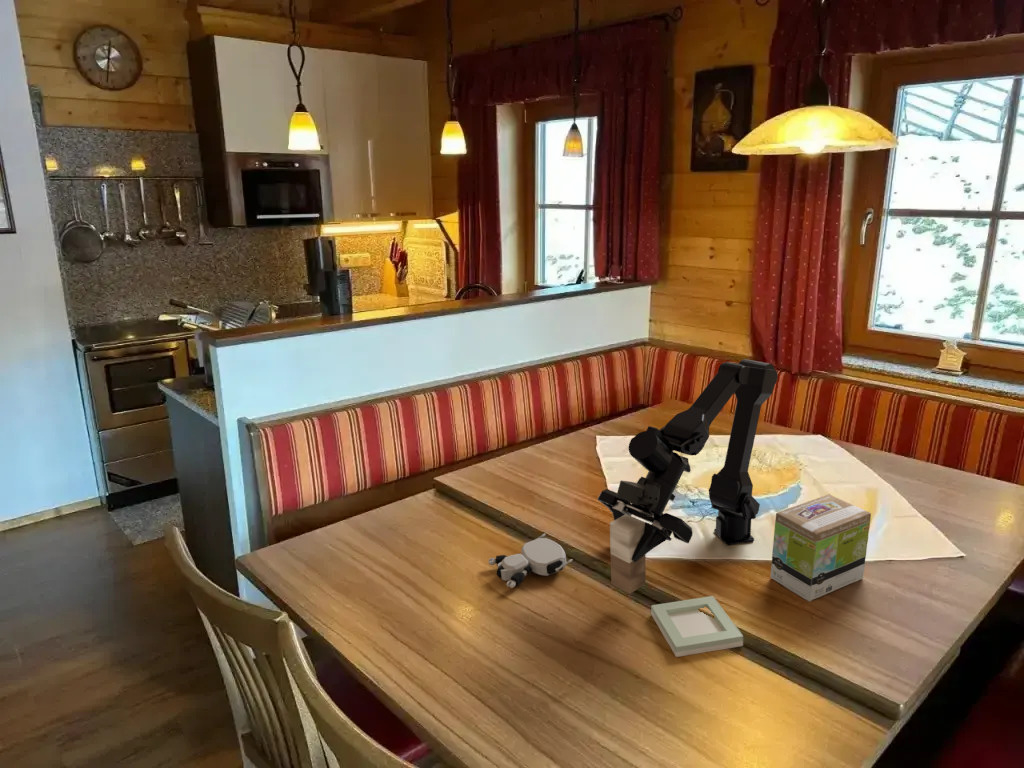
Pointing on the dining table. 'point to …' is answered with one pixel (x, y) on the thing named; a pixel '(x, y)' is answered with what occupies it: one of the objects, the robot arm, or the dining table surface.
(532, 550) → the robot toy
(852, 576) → the tea box
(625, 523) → the block stack
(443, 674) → the dining table surface
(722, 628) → the picture frame
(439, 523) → the dining table surface
